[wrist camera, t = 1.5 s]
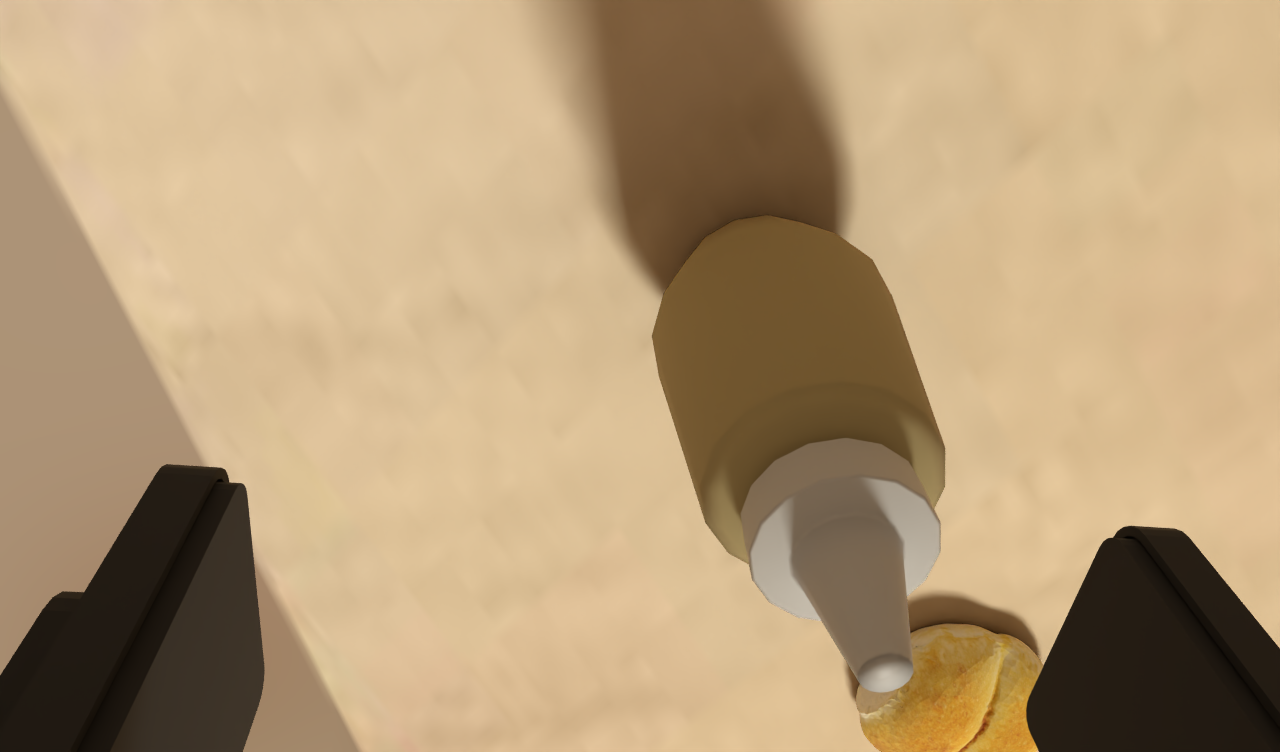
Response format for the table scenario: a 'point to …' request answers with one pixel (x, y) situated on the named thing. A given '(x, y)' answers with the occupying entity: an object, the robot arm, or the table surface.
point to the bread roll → (956, 695)
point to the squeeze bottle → (807, 430)
